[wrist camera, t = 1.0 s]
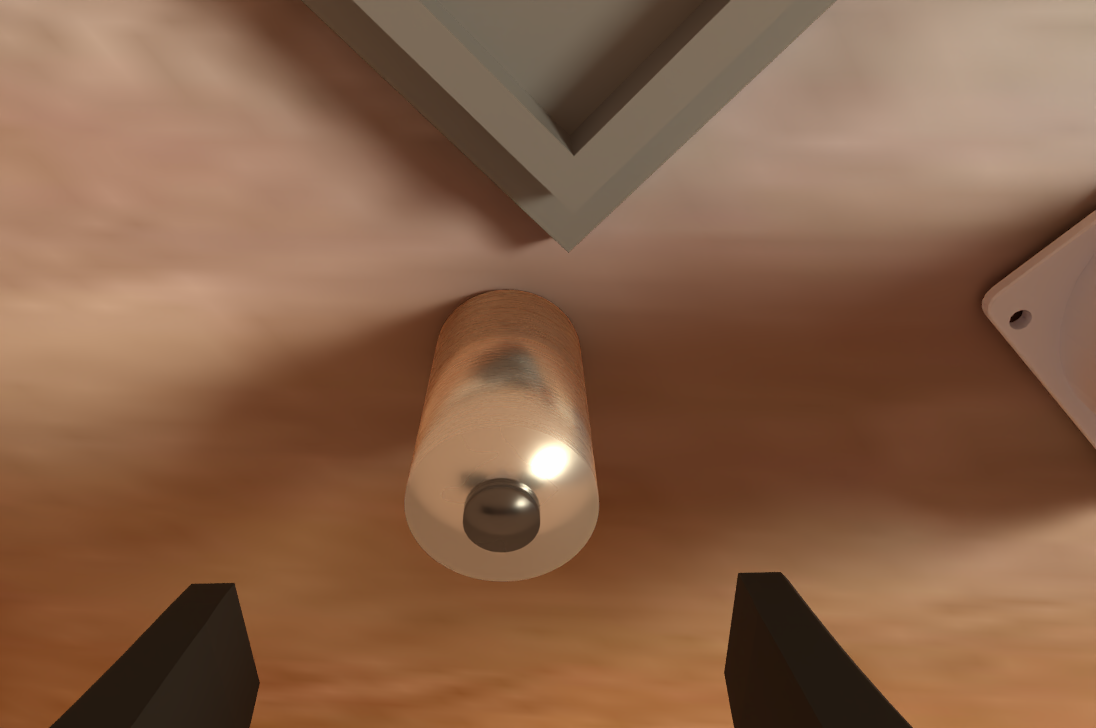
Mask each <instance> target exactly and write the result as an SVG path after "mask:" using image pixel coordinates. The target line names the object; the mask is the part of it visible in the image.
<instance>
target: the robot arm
mask: <svg viewBox="0 0 1096 728" xmlns="http://www.w3.org/2000/svg"><path fill="white" fill-rule="evenodd" d="M982 310H983V312H984V314H985V315H986V316H987V318H988V319H989V320H990V321H991V322H992V324H993V325H994V326H995V327H996V329H997V330H998V331H999V332H1000V333H1001V335H1002V336H1003V337H1004V338H1005V340H1006V341H1007V342H1008V343H1009V344H1010V346H1011V347H1012V348H1013V349H1014V350H1015V352H1016V353H1017V354H1018V355H1019V357H1020V358H1021V359H1022V360H1023V361H1024V363H1025V364H1026V365H1027V366H1028V368H1029V369H1030V370H1031V371H1032V372H1033V374H1034V375H1035V376H1036V377H1037V378H1038V380H1039V381H1040V382H1041V383H1042V385H1043V386H1044V387H1045V388H1046V389H1047V391H1048V392H1049V393H1050V394H1051V396H1052V397H1053V398H1054V399H1055V400H1056V402H1057V403H1058V404H1059V405H1060V406H1061V408H1062V409H1063V410H1064V411H1065V413H1066V414H1067V415H1068V416H1069V417H1070V419H1071V420H1072V421H1073V422H1074V424H1075V425H1076V426H1077V427H1078V428H1079V430H1080V431H1081V432H1082V433H1083V435H1084V436H1085V437H1086V438H1087V439H1088V441H1089V442H1090V443H1091V444H1092V445H1093V447H1094V448H1095V449H1096V210H1095V211H1093V212H1092V213H1091V214H1089V215H1088V216H1087V217H1085V218H1084V219H1083V220H1081V221H1080V222H1079V223H1077V224H1076V225H1075V226H1073V227H1072V228H1071V229H1069V230H1068V231H1067V232H1065V233H1064V234H1063V235H1061V236H1060V237H1059V238H1057V239H1056V240H1055V241H1053V242H1052V243H1051V244H1049V245H1048V246H1047V247H1045V248H1044V249H1043V250H1041V251H1040V252H1039V253H1037V254H1036V255H1035V256H1033V257H1032V258H1031V259H1029V260H1028V261H1027V262H1025V263H1024V264H1023V265H1021V266H1020V267H1019V268H1017V269H1016V270H1014V271H1013V272H1012V273H1010V274H1009V275H1008V276H1006V277H1005V278H1004V279H1002V280H1001V281H1000V282H998V283H997V284H996V285H994V286H993V287H992V288H991V289H990V290H989V291H988V292H987V293H986V294H985V296H984V298H983V300H982ZM1020 310H1023V313H1022V316H1021V317H1020V318H1019V319H1018V320H1016V321H1014V322H1009V321H1010V318H1011V316H1012V315H1013V314H1014V313H1015V312H1018V311H1020ZM724 674H725V679H726V685H727V691H728V696H729V702H730V708H731V713H732V718H733V724H734V728H913V727H912V726H911V725H910V724H909V723H908V722H907V721H906V720H905V719H904V718H903V717H902V716H901V715H900V713H899V712H898V711H897V710H896V709H895V708H894V707H893V706H892V705H891V704H890V703H889V702H888V700H887V699H886V698H885V697H884V696H883V695H882V694H881V692H880V691H879V690H878V689H877V688H876V687H875V686H874V684H873V683H872V682H871V681H870V680H869V679H868V678H867V676H866V675H865V674H864V673H863V672H862V671H861V670H860V669H859V667H858V666H857V665H856V664H855V663H854V662H853V660H852V659H851V658H850V657H849V656H848V654H847V653H846V652H845V651H844V650H843V648H842V647H841V646H840V645H839V644H838V642H837V641H836V640H835V639H834V637H833V636H832V635H831V634H830V633H829V631H828V630H827V629H826V628H825V626H824V625H823V624H822V623H821V621H820V620H819V619H818V618H817V616H816V615H815V614H814V613H813V611H812V610H811V609H810V608H809V606H808V605H807V604H806V602H805V601H804V600H803V599H802V597H801V596H800V595H799V593H798V592H797V591H796V590H795V588H794V587H793V586H792V584H791V583H790V582H789V580H788V579H787V578H786V577H785V576H784V575H783V574H782V573H781V572H765V573H738V578H737V585H736V593H735V600H734V607H733V614H732V621H731V628H730V636H729V643H728V650H727V657H726V664H725V671H724ZM259 684H260V682H259V678H258V674H257V671H256V667H255V663H254V659H253V655H252V651H251V647H250V643H249V639H248V635H247V631H246V627H245V623H244V619H243V615H242V611H241V607H240V603H239V599H238V595H237V591H236V587H235V583H215V584H191V585H190V586H189V587H188V588H187V589H186V590H185V591H184V592H183V593H182V594H181V595H180V596H179V597H178V598H177V599H176V600H175V601H174V602H173V603H172V604H171V605H170V606H169V607H168V608H167V609H166V610H165V611H164V612H163V613H162V614H161V616H160V617H159V618H158V619H157V620H156V621H155V622H154V623H153V624H152V625H151V626H150V627H149V628H148V629H147V630H146V631H145V632H144V633H143V634H142V635H141V636H140V637H139V638H138V640H137V641H136V642H135V643H134V644H133V645H132V646H131V647H130V648H129V649H128V650H127V651H126V652H125V653H124V654H123V655H122V656H121V657H120V658H119V659H118V660H117V661H116V662H115V663H114V664H113V665H112V666H111V667H110V668H109V669H108V670H107V671H106V672H105V673H104V674H103V675H102V676H101V677H100V678H99V679H98V680H97V681H96V682H95V683H94V684H93V685H92V686H91V687H90V688H89V689H88V690H87V691H86V692H85V693H84V694H83V695H82V696H81V697H80V698H79V699H78V700H77V701H76V702H75V703H74V704H73V705H72V706H71V707H70V708H69V709H68V710H67V711H66V712H65V713H64V714H63V715H62V716H61V717H60V718H59V719H58V720H57V721H56V722H55V723H54V724H53V725H52V726H50V727H49V728H249V727H250V723H251V719H252V715H253V710H254V706H255V701H256V697H257V692H258V688H259Z"/></svg>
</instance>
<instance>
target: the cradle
mask: <svg viewBox="0 0 1096 728" xmlns="http://www.w3.org/2000/svg"><path fill="white" fill-rule="evenodd" d="M301 1H302V2H303V3H304V4H305V5H307V6H308V7H309V8H310V9H311V10H312V11H313V12H314V13H315V14H316V15H317V16H318V17H319V18H320V19H321V20H322V21H323V22H325V23H326V24H327V25H328V26H329V27H330V28H331V29H332V30H333V31H334V32H335V33H336V34H337V35H338V36H339V37H340V38H341V39H343V40H344V41H345V42H346V43H347V44H348V45H349V46H350V47H351V48H352V49H353V50H354V51H355V52H356V53H357V54H358V55H359V56H361V57H362V58H363V59H364V60H365V61H366V62H367V63H368V64H369V65H370V66H371V67H372V68H373V69H374V70H375V71H376V72H377V73H379V74H380V75H381V76H382V77H383V78H384V79H385V80H386V81H387V82H388V83H389V84H390V85H391V86H392V87H393V88H394V89H395V90H397V91H398V92H399V93H400V94H401V95H402V96H403V97H404V98H405V99H406V100H407V101H408V102H409V103H410V104H411V105H412V106H414V107H415V108H416V109H417V110H418V111H419V112H420V113H421V114H422V115H423V116H424V117H425V118H426V119H427V120H428V121H429V122H430V123H432V124H433V125H434V126H435V127H436V128H437V129H438V130H439V131H440V132H441V133H442V134H443V135H444V136H445V137H446V138H447V139H448V140H450V141H451V142H452V143H453V144H454V145H455V146H456V147H457V148H458V149H459V150H460V151H461V152H462V153H463V154H464V155H465V156H466V157H468V158H469V159H470V160H471V161H472V162H473V163H474V164H475V165H476V166H477V167H478V168H479V169H480V170H481V171H482V172H483V173H484V174H486V175H487V176H488V177H489V178H490V179H491V180H492V181H493V182H494V183H495V184H496V185H497V186H498V187H499V188H500V189H501V190H502V191H504V192H505V193H506V194H507V195H508V196H509V197H510V198H511V199H512V200H513V201H514V202H515V203H516V204H517V205H518V206H519V207H521V208H522V209H523V210H524V211H525V212H526V213H527V214H528V215H529V216H530V217H531V218H532V219H533V220H534V221H535V222H536V223H537V224H539V225H540V226H541V227H542V228H543V229H544V230H545V231H546V232H547V233H548V234H549V235H550V236H551V237H552V238H553V239H554V240H555V241H557V242H558V243H559V244H560V245H561V246H562V247H563V248H564V249H565V250H566V251H567V252H568V253H569V252H570V251H571V250H572V249H573V248H574V247H575V246H576V245H577V244H579V243H580V242H581V241H582V240H583V239H584V238H585V237H586V236H587V235H588V234H589V233H590V232H591V231H592V230H593V229H594V228H596V227H597V226H598V225H599V224H600V223H601V222H602V221H603V220H604V219H605V218H606V217H607V216H608V215H609V214H610V213H611V212H613V211H614V210H615V209H616V208H617V207H618V206H619V205H620V204H621V203H622V202H623V201H624V200H625V199H626V198H627V197H628V196H630V195H631V194H632V193H633V192H634V191H635V190H636V189H637V188H638V187H639V186H640V185H641V184H642V183H643V182H644V181H645V180H646V179H648V178H649V177H650V176H651V175H652V174H653V173H654V172H655V171H656V170H657V169H658V168H659V167H660V166H661V165H662V164H663V163H665V162H666V161H667V160H668V159H669V158H670V157H671V156H672V155H673V154H674V153H675V152H676V151H677V150H678V149H679V148H680V147H682V146H683V145H684V144H685V143H686V142H687V141H688V140H689V139H690V138H691V137H692V136H693V135H694V134H695V133H696V132H697V131H699V130H700V129H701V128H702V127H703V126H704V125H705V124H706V123H707V122H708V121H709V120H710V119H711V118H712V117H713V116H714V115H716V114H717V113H718V112H719V111H720V110H721V109H722V108H723V107H724V106H725V105H726V104H727V103H728V102H729V101H730V100H731V99H732V98H734V97H735V96H736V95H737V94H738V93H739V92H740V91H741V90H742V89H743V88H744V87H745V86H746V85H747V84H748V83H749V82H751V81H752V80H753V79H754V78H755V77H756V76H757V75H758V74H759V73H760V72H761V71H762V70H763V69H764V68H765V67H766V66H768V65H769V64H770V63H771V62H772V61H773V60H774V59H775V58H776V57H777V56H778V55H779V54H780V53H781V52H782V51H783V50H785V49H786V48H787V47H788V46H789V45H790V44H791V43H792V42H793V41H794V40H795V39H796V38H797V37H798V36H799V35H800V34H802V33H803V32H804V31H805V30H806V29H807V28H808V27H809V26H810V25H811V24H812V23H813V22H814V21H815V20H816V19H817V18H818V17H820V16H821V15H822V14H823V13H824V12H825V11H826V10H827V9H828V8H829V7H830V6H831V5H832V4H833V3H834V2H835V1H837V0H301Z"/></svg>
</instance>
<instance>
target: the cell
mask: <svg viewBox="0 0 1096 728" xmlns="http://www.w3.org/2000/svg"><path fill="white" fill-rule="evenodd" d="M404 507H405V515H406V520H407V523H408V526H409V529H410V531H411V533H412V534H413V536H414V538H415V540H416V541H417V542H418V544H419V545H420V546H421V548H422V549H423V550H424V551H425V552H426V553H427V554H428V555H429V556H430V557H432V558H433V559H434V560H436V561H437V562H438V563H440V564H441V565H443V566H445V567H446V568H448V569H450V570H452V571H454V572H457V573H459V574H462V575H465V576H468V577H471V578H475V579H480V580H487V581H498V582H508V581H519V580H525V579H530V578H534V577H537V576H541V575H543V574H546V573H548V572H551V571H553V570H555V569H557V568H559V567H561V566H562V565H564V564H565V563H566V562H568V561H569V560H571V559H572V558H573V557H574V556H575V555H576V554H578V553H579V551H580V550H581V549H582V548H583V547H584V546H585V545H586V543H587V542H588V540H589V538H590V537H591V535H592V533H593V531H594V529H595V526H596V523H597V519H598V514H599V495H598V487H597V479H596V470H595V462H594V454H593V446H592V438H591V430H590V421H589V413H588V405H587V397H586V389H585V381H584V372H583V364H582V356H581V348H580V343H579V338H578V335H577V333H576V330H575V328H574V326H573V324H572V323H571V321H570V320H569V319H568V317H567V316H566V315H565V314H564V313H563V312H562V311H561V310H560V309H559V308H558V307H557V306H556V305H554V304H553V303H551V302H550V301H548V300H546V299H545V298H543V297H540V296H538V295H536V294H532V293H529V292H525V291H519V290H496V291H490V292H486V293H483V294H480V295H477V296H475V297H473V298H471V299H469V300H467V301H466V302H464V303H463V304H461V305H460V306H459V307H458V308H457V309H455V310H454V311H453V313H452V314H451V315H450V316H449V317H448V319H447V320H446V322H445V323H444V325H443V327H442V329H441V331H440V334H439V337H438V340H437V345H436V350H435V354H434V359H433V364H432V368H431V373H430V378H429V383H428V387H427V392H426V397H425V401H424V406H423V411H422V416H421V420H420V425H419V430H418V435H417V439H416V444H415V449H414V453H413V458H412V463H411V468H410V472H409V477H408V482H407V486H406V492H405V499H404Z"/></svg>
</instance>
